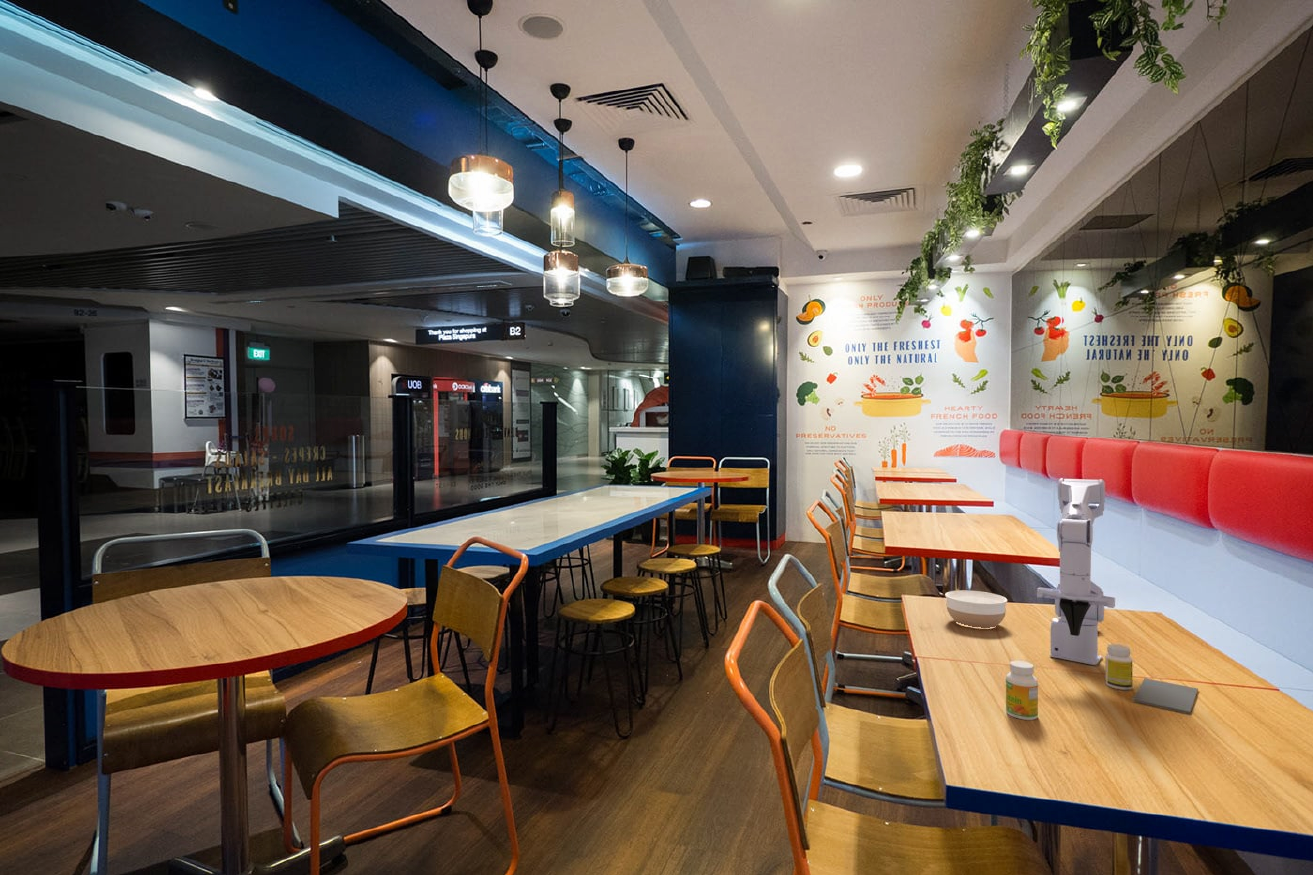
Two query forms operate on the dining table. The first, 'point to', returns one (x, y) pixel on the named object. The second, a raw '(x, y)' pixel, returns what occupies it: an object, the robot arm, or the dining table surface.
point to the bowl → (976, 608)
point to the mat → (1166, 695)
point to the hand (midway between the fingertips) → (1075, 634)
